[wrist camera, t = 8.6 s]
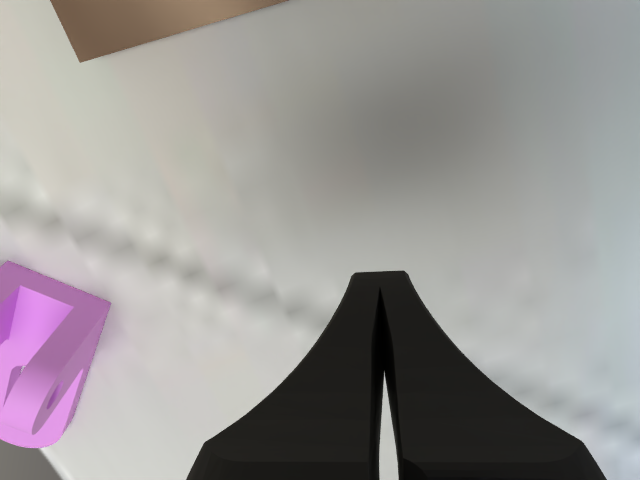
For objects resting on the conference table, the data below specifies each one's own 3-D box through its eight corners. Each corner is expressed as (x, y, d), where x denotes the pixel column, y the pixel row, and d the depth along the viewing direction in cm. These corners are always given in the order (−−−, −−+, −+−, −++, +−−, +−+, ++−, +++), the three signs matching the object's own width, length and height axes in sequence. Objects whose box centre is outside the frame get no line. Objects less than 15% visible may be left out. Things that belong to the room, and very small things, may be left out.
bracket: (9, 259, 26) (-97, 350, 20) (112, 301, 27) (39, 400, 21) (-19, 410, 33) (-107, 514, 27) (65, 440, 33) (-1, 548, 27)
